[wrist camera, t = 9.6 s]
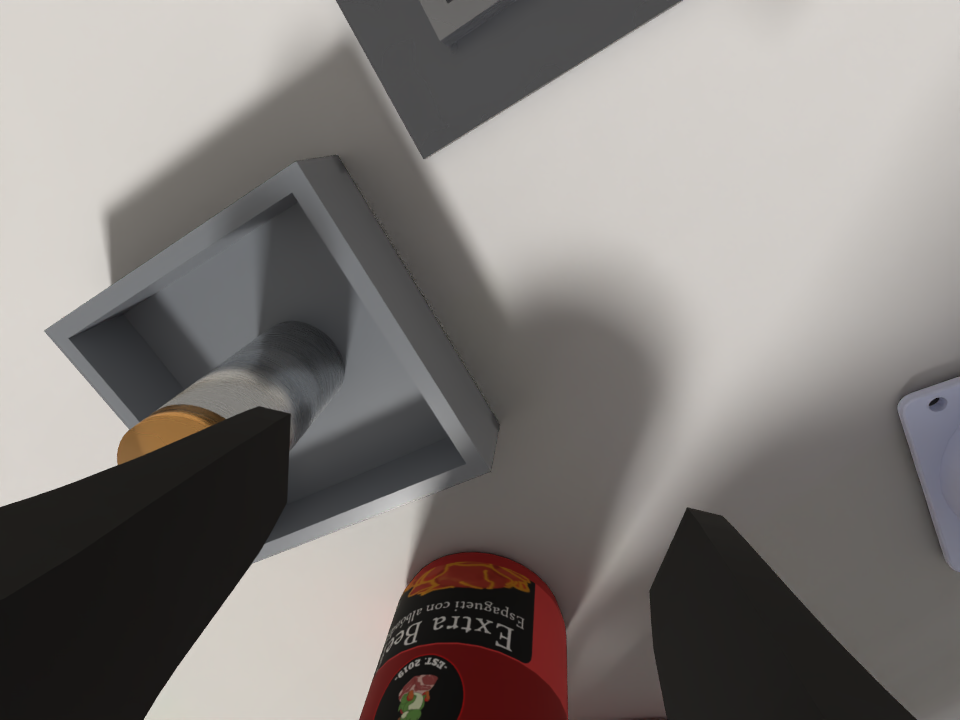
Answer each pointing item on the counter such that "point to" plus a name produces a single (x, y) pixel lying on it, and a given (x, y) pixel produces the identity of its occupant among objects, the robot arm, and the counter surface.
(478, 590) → the canned food
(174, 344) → the bin
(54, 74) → the counter surface
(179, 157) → the counter surface
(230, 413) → the grey and gold cylinder
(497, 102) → the socket base
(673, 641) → the robot arm
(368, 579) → the counter surface
